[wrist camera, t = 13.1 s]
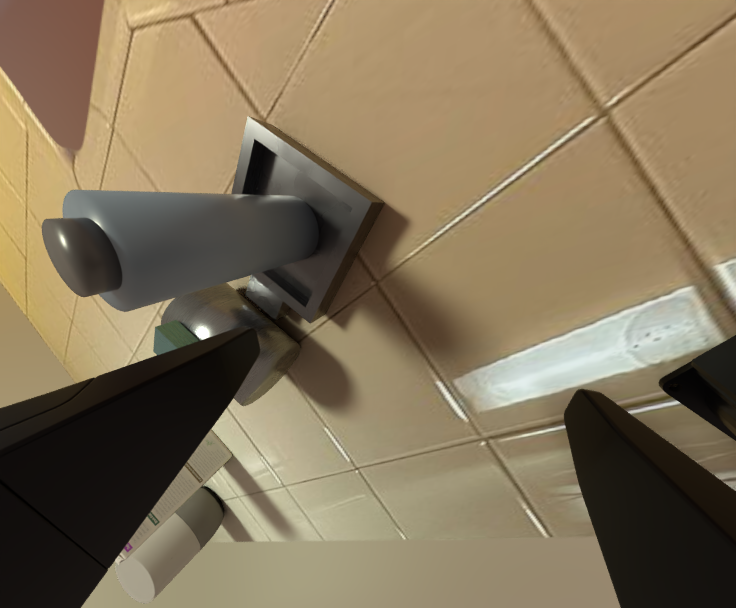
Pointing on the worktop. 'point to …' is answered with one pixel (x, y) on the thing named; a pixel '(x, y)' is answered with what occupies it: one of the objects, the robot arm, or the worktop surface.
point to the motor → (285, 283)
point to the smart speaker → (171, 546)
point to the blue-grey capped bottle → (172, 241)
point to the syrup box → (181, 489)
